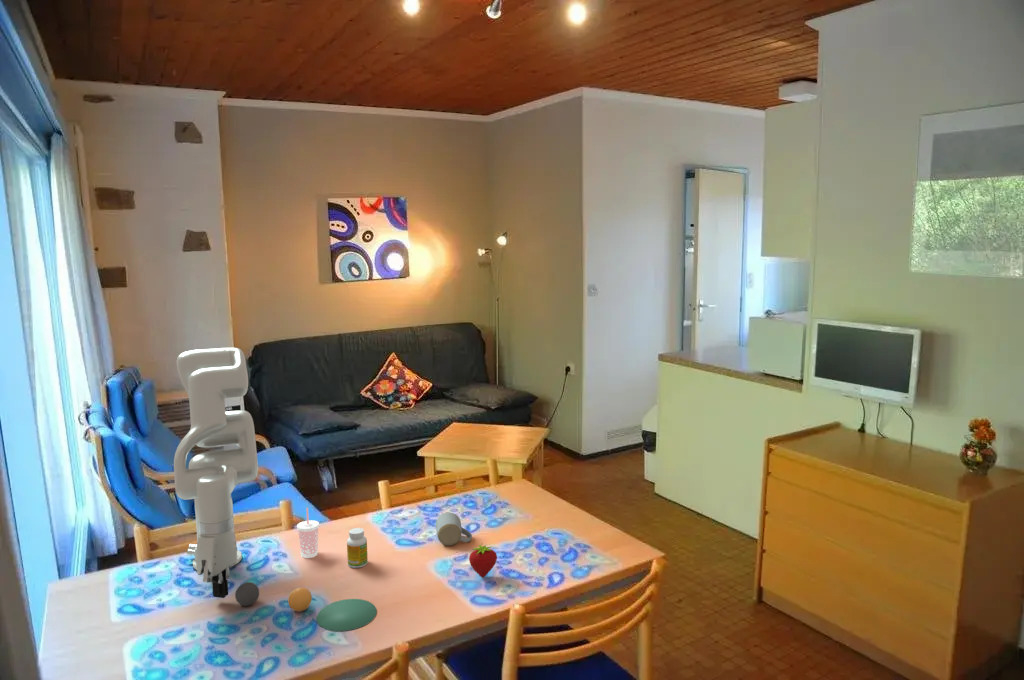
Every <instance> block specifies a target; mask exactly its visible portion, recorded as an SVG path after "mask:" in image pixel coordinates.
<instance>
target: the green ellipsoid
mask: <svg viewBox="0 0 1024 680" xmlns="http://www.w3.org/2000/svg"><path fill="white" fill-rule="evenodd" d="M377 612H378V611H377V607H376V606H375V604H373V603H372V602H371V601H368V600H365V599H361V598H346V599H342V600H341V599H339V600H336V601H333V602H331V603H329V604H327V605H325V606H324V607H323V608H321V609H320V610H319V611H318V612H317V615H316V623H317V624H318V626H320V627H321V628H322V629H325V630H327V631H332V632H347V631H353V630H356V629H359V628H363V627H364V626H365V627H366V626H367V625H368V624H370V623H371V622H372V621H373V620H374V619H375V617H376V615H377Z"/></svg>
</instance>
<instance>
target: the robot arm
mask: <svg viewBox="0 0 1024 680" xmlns="http://www.w3.org/2000/svg"><path fill="white" fill-rule="evenodd" d="M246 362H247V361H246V357H245V353H244V351H243V350H242V349H240V348H238V347H220V348H203V349H202V348H201V349H200V348H199V349H191V350H188V351H187V350H186V351H184V352H181V353H180V354H179V355H178V356H177V359H176V369H177V373H178V377H179V379H180V382H181V384H182V387H183V388H184V390H185V392H186V393H187V396H188V400H189V415H190V416H189V417H190V418H189V419H190V430H189V431H188V432H187V434H185V435H184V437H182V439H181V440H180V442H179V444H178V446H177V448H176V450H175V453H174V458H173V473H174V474H173V475H174V489H175V493H176V495H177V497H178V498H179V499H181V500H185V501H186V500H188V501H189V500H194V511H195V525H196V541H197V542H196V544H195V543H190V544H189V545H188V548H187V550H186V554H187V555H194V559H193V560H192V567H193V569H195V570H196V573H197V575H199V576H200V575H202V576H203V577H202V582H203V583H211V584H212V596H213V597H214V598H219V599H225V598H226V596H229V582H228V580H229V578H230V570H231V568H232V567H234V566H236V565H237V564H239V563H240V562H241V560H242V559H243V558H242V557H243V555H242V554H243V553H242V551H240V550H239V549H238V546H237V537H236V533H235V521H234V505H233V503H234V502H233V498H232V493H233V492H234V489H235V487H236V486H237V485H238V484H242V483H247V482H252V481H254V480H255V479H256V478H257V476H258V472H259V463H258V461H259V460H258V451H257V443H256V433H255V432H256V431H255V424H254V419H253V417H252V414H251V413H250V412H249V411H247V410H245V409H244V410H243V409H242V410H237V409H236V410H229V411H228V410H227V409H226V400H225V399H229V398H238V397H239V398H242V397H244V396H245V395H246V394H247V392H248V389H249V388H248V387H249V375H248V374H249V373H248V368H247V363H246ZM195 446H197V447H199V448H216V447H223V446H224V447H225V446H237V447H238V448H232V449H225V450H224V449H221V450H214V451H205V452H201V453H198V454H196V455H194V456H193V457H192V458H191V459H190V460H189V462H188V468H187V457H188V455H189V453H190V451H191V450H192V448H194V447H195Z"/></svg>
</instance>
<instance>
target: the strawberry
mask: <svg viewBox="0 0 1024 680" xmlns="http://www.w3.org/2000/svg"><path fill="white" fill-rule="evenodd" d="M482 545H483V542H482V543H481V544H479V545H478V547H474V548H472V550H473V551H472V552H471V553H470V554H469V558H468V561H469V564H470V567H471V568H472V569H473V571H474V572H475V573H476V574H478V575H479V577H480V578H484V576H485V577H486V576H487V575H488V574H489V572H491V570H492V569H493V567H495V565H496V563H497V559H498V555H497V552H496V551H495V550H493V549H491V548H492V546H487V545H483V546H482Z"/></svg>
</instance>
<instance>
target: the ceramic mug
mask: <svg viewBox="0 0 1024 680" xmlns="http://www.w3.org/2000/svg"><path fill="white" fill-rule="evenodd" d="M435 530H436V536H437V539H438V542H440V543H441V544H442V545H444V546H445V547H448V546H449V547H451V546H455V545H456V544H458V543H459V541H460V542H463V543H469V541H470V542H471V540H472V538H473V535H472V533H471V532H470V531H469V530H468V529H466V528H463V527H462V521H461V519H460V517H459V516H458V515H457V514H455V513H454V512H448V511H447V512H444V513H443V512H442V514H440V515H438V517H437V518H436V522H435ZM462 535H464V536H462Z"/></svg>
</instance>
